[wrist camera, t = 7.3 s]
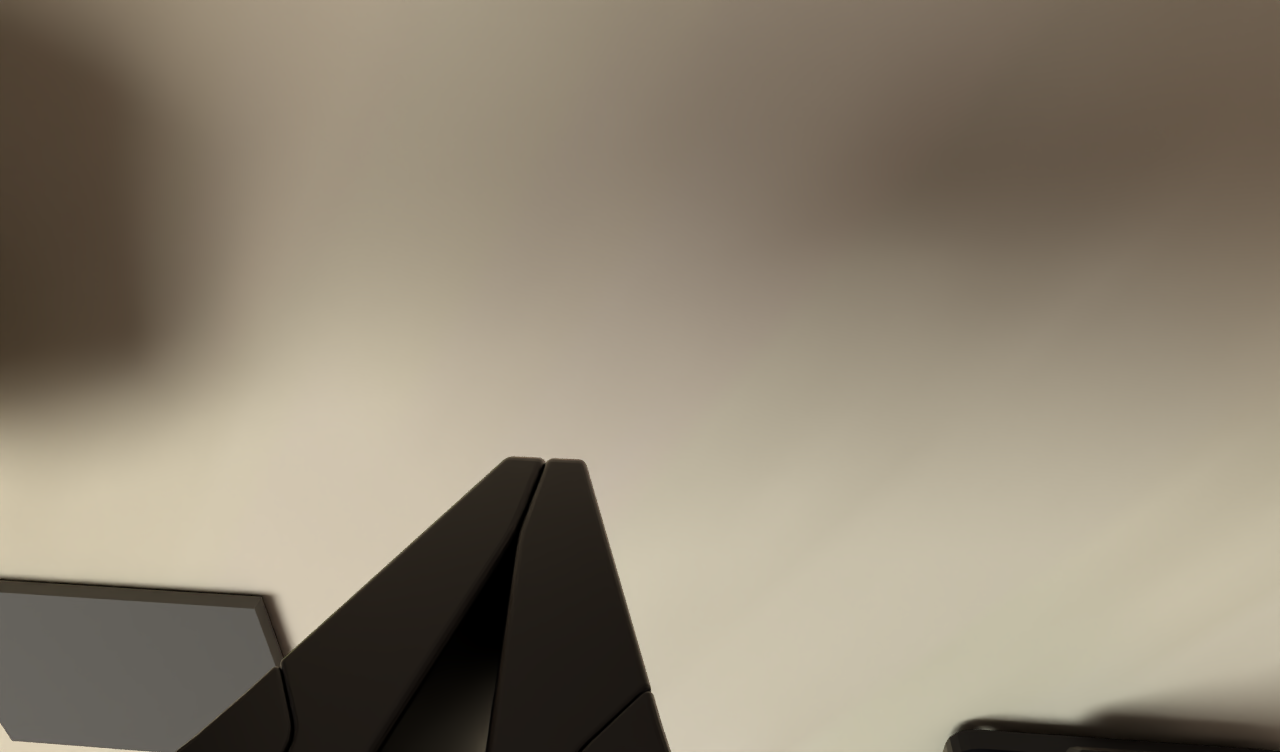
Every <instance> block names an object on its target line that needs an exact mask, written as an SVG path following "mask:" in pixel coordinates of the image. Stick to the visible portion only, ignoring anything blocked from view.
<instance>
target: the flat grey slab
mask: <svg viewBox="0 0 1280 752" xmlns="http://www.w3.org/2000/svg"><path fill="white" fill-rule="evenodd" d="M282 659H283V655H282V652H281V650H280V647H279V644H278V641H277V639H276V636H275V633H274V630H273V627H272V625H271V622H270V619H269V616H268V613H267V611H266V608H265V605H264V602H263V599H262V597H258V596H242V595H226V594H211V593H195V592H179V591H163V590H147V589H132V588H116V587H100V586H84V585H68V584H53V583H37V582H21V581H5V580H0V723H1V725H2V726H3V728H4V729H5V731H6V732H7V734H8V735H9V737H10V738H11V740H12V741H22V742H35V743H48V744H61V745H74V746H86V747H99V748H112V749H125V750H138V751H150V752H175V751H176V750H178V749H179V748H180V747H181V746H183V745H184V744H185V743H186V742H188V741H189V740H190V739H192V738H193V737H194V736H195V735H196V734H198V733H199V732H200V731H201V730H202V729H203V728H205V727H206V726H207V725H208V724H209V723H210V722H212V721H213V720H214V719H215V718H216V717H217V716H219V715H220V714H221V713H222V712H223V711H224V710H226V709H227V708H228V707H229V706H230V705H231V704H233V703H234V702H235V701H236V700H237V699H238V698H239V697H241V696H242V695H243V694H244V693H245V692H246V691H247V690H249V689H250V688H251V687H252V686H253V685H254V684H255V683H256V682H257V681H259V680H260V679H261V678H262V677H263V676H264V675H265V674H266V673H267V672H269V671H270V670H271V669H272V668H273V667H280V668H281V666H280V663H281V660H282Z"/></svg>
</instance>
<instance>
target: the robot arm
mask: <svg viewBox="0 0 1280 752" xmlns="http://www.w3.org/2000/svg"><path fill="white" fill-rule="evenodd" d="M280 666H281V668H280V667H273V668H272V669H271V670H270V671H269V672H267V673H266V674H265V675H264V676H263V677H262V678H261V679H260V680H259V681H257V682H256V683H255V684H254V685H253V686H252V687H251V688H250V689H249V690H247V691H246V692H245V693H244V694H243V695H242V696H241V697H239V698H238V699H237V700H236V701H235V702H234V703H233V704H231V705H230V706H229V707H228V708H227V709H226V710H224V711H223V712H222V713H221V714H220V715H219V716H217V717H216V718H215V719H214V720H213V721H212V722H210V723H209V724H208V725H207V726H206V727H205V728H203V729H202V730H201V731H200V732H199V733H198V734H196V735H195V736H194V737H193V738H192V739H190V740H189V741H188V742H186V743H185V744H184V745H183V746H181V747H180V748H179V749H178V750H176V751H175V752H671V750H670V747H669V744H668V741H667V738H666V735H665V732H664V729H663V726H662V723H661V720H660V716H659V713H658V709H657V706H656V702H655V699H654V695H653V694H652V693H651V686H650V683H649V679H648V676H647V672H646V669H645V665H644V662H643V659H642V655H641V652H640V648H639V645H638V641H637V638H636V634H635V631H634V627H633V624H632V621H631V617H630V614H629V610H628V607H627V603H626V600H625V596H624V593H623V589H622V586H621V583H620V579H619V576H618V572H617V569H616V565H615V562H614V558H613V555H612V551H611V548H610V545H609V541H608V538H607V534H606V531H605V527H604V524H603V520H602V517H601V513H600V510H599V507H598V503H597V500H596V496H595V493H594V489H593V486H592V482H591V479H590V475H589V472H588V469H587V465H586V463H585V462H584V461H583V460H579V459H558V458H552V459H550V460H548V461H547V462H545V461H544V460H543V459H542V458H536V457H515V456H513V457H508V458H506V459H504V460H503V461H502V462H501V463H500V464H499V465H497V466H496V467H495V468H494V469H493V470H492V471H491V472H490V473H489V474H487V475H486V476H485V477H484V478H483V479H482V480H481V481H480V482H479V483H477V484H476V485H475V486H474V487H473V488H472V489H471V490H470V491H469V492H468V493H466V494H465V495H464V496H463V497H462V498H461V499H460V500H459V501H458V502H456V503H455V504H454V505H453V506H452V507H451V508H450V509H449V510H448V511H446V512H445V513H444V514H443V515H442V516H441V517H440V518H439V519H438V520H436V521H435V522H434V523H433V524H432V525H431V526H430V527H429V528H428V529H426V530H425V531H424V532H423V533H422V534H421V535H420V536H419V537H418V538H416V539H415V540H414V541H413V542H412V543H411V544H410V545H409V546H408V547H407V548H405V549H404V550H403V551H402V552H401V553H400V554H399V555H398V556H397V557H395V558H394V559H393V560H392V561H391V562H390V563H389V564H388V565H387V566H385V567H384V568H383V569H382V570H381V571H380V572H379V573H378V574H377V575H375V576H374V577H373V578H372V579H371V580H370V581H369V582H368V583H367V584H365V585H364V586H363V587H362V588H361V589H360V590H359V591H358V592H357V593H355V594H354V595H353V596H352V597H351V598H350V599H349V600H348V601H347V602H346V603H344V604H343V605H342V606H341V607H340V608H339V609H338V610H337V611H336V612H334V613H333V614H332V615H331V616H330V617H329V618H328V619H327V620H326V621H324V622H323V623H322V624H321V625H320V626H319V627H318V628H317V629H316V630H314V631H313V632H312V633H311V634H310V635H309V636H308V637H307V638H306V639H304V640H303V641H302V642H301V643H300V644H299V645H298V646H297V647H296V648H294V649H293V650H292V651H291V652H290V653H289V654H288V655H287V656H286V657H285V658H283V659H282V660H281V663H280ZM943 752H1280V751H1273V750H1259V749H1244V748H1230V747H1216V746H1202V745H1188V744H1174V743H1160V742H1145V741H1131V740H1117V739H1103V738H1089V737H1075V736H1061V735H1047V734H1032V733H1018V732H1004V731H990V730H965V731H962V732H958V733H956V734H954V735H953V736H951V737H950V738H949V739H948V740H947V742H946V744H945V747H944V750H943Z"/></svg>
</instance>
